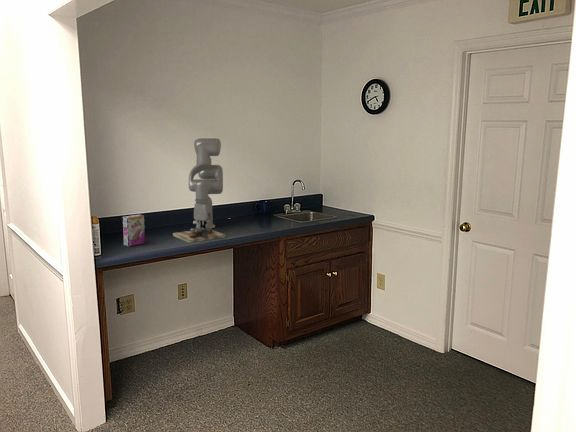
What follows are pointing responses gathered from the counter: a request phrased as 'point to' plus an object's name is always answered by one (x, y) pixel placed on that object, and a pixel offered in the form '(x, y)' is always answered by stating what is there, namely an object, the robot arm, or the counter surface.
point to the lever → (197, 233)
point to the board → (186, 236)
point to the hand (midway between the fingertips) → (203, 231)
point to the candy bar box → (133, 230)
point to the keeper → (203, 232)
